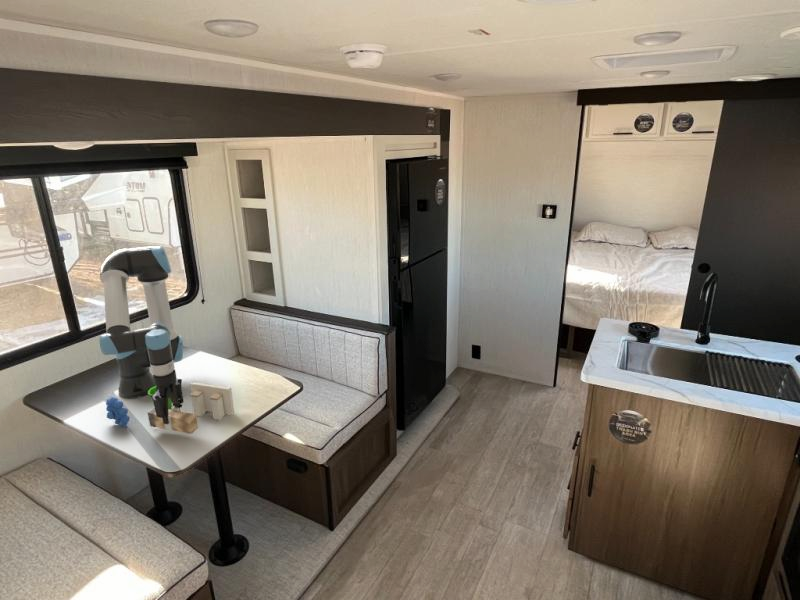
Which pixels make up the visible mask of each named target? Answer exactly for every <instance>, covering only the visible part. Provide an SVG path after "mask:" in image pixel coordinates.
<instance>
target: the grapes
mask: <svg viewBox="0 0 800 600" xmlns="http://www.w3.org/2000/svg"><path fill="white" fill-rule="evenodd" d="M105 404H106V411H107V413H106V418H107V419H108V420H114V424H115V425H117V426H121V427H127V426H128V424H129V422H130V418H131V416H130V415H128V411H129V410H128V409H127V408H125V407H124V402H123V401H120V400H119V398H117V397H114V396H112V397H109V398H107V399H106V401H105Z"/></svg>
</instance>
